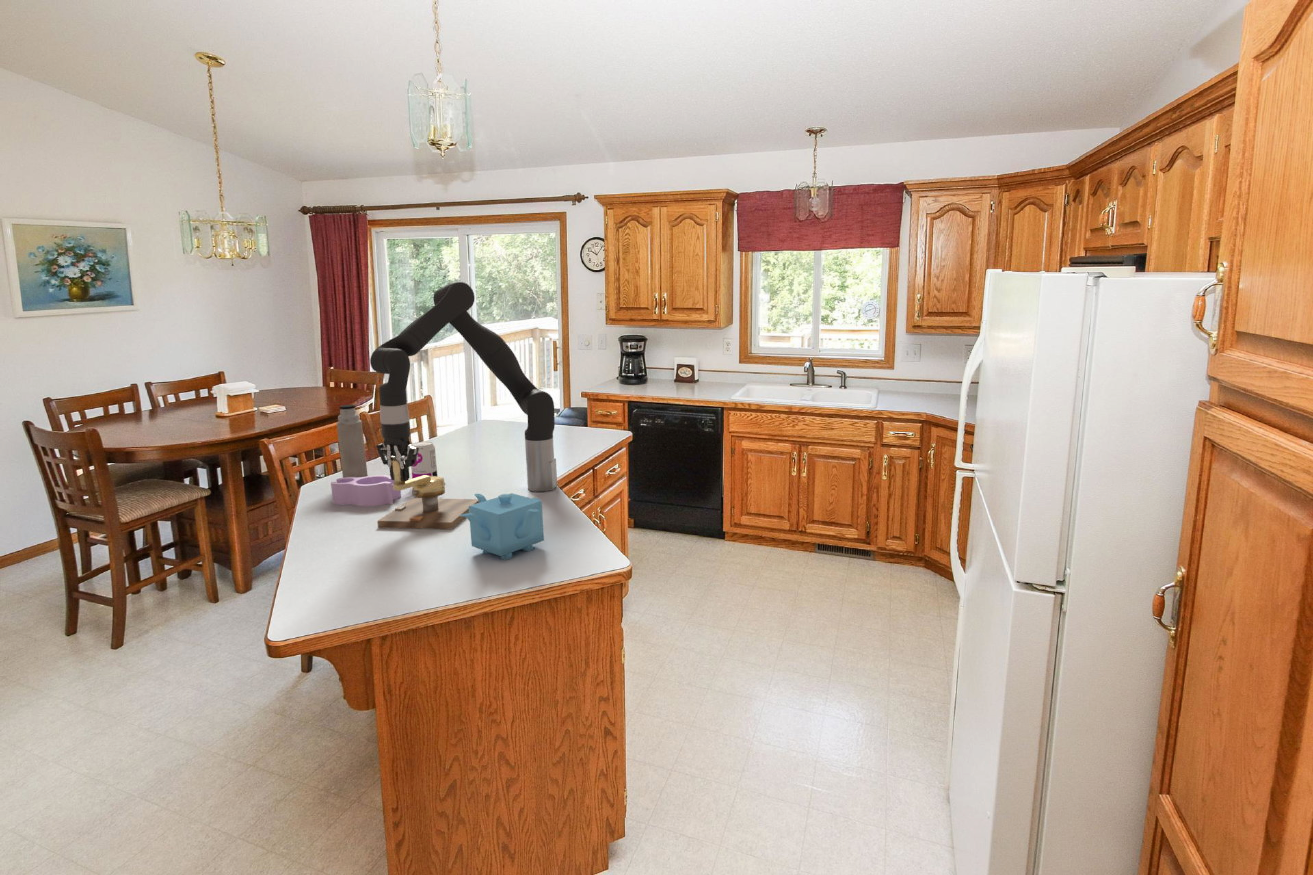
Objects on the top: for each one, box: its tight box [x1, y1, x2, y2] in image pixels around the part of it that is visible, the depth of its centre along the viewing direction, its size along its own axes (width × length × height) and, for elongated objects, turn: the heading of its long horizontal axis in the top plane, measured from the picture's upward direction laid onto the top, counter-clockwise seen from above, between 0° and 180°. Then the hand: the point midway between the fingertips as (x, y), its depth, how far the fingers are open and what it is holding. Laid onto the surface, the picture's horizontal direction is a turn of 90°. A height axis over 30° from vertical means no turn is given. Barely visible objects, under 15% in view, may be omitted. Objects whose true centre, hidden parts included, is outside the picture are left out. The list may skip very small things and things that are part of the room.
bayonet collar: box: [392, 459, 446, 498], centre depth 208 cm, size 17×9×12 cm, turn 149°
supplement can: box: [410, 441, 439, 479], centre depth 243 cm, size 8×8×15 cm
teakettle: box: [460, 493, 545, 560], centre depth 182 cm, size 19×19×15 cm
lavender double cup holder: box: [330, 474, 402, 507], centre depth 229 cm, size 20×12×7 cm, turn 88°
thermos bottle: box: [336, 404, 368, 478], centre depth 246 cm, size 8×8×28 cm
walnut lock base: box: [377, 496, 479, 530], centre depth 212 cm, size 22×22×7 cm
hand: (400, 479), depth 202 cm, fingers closed on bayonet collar, 3 cm apart
